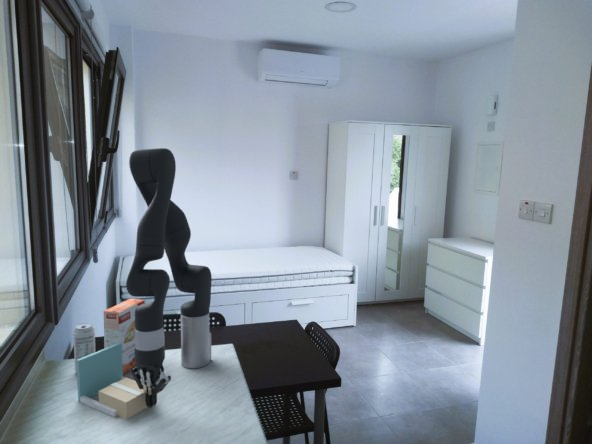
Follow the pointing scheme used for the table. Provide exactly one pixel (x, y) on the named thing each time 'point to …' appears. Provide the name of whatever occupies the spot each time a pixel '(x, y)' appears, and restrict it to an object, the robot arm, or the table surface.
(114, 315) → the cracker box
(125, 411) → the kraft carton
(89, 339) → the energy drink can
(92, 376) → the display stand
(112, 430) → the table surface
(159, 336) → the robot arm
